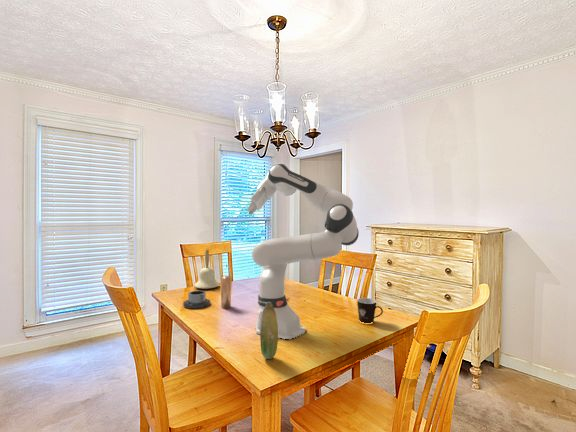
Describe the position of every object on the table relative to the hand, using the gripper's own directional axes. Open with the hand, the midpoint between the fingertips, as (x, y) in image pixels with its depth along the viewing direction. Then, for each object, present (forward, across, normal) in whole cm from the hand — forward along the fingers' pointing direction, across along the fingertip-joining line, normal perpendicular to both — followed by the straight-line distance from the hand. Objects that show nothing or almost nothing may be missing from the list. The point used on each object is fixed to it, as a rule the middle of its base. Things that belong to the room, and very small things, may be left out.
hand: (249, 212), depth 157 cm
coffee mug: (+10, -7, -76) cm, 77 cm away
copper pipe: (+46, +16, -17) cm, 52 cm away
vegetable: (+42, -40, -44) cm, 72 cm away
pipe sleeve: (+55, +20, -4) cm, 58 cm away
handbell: (+51, +54, +2) cm, 74 cm away
